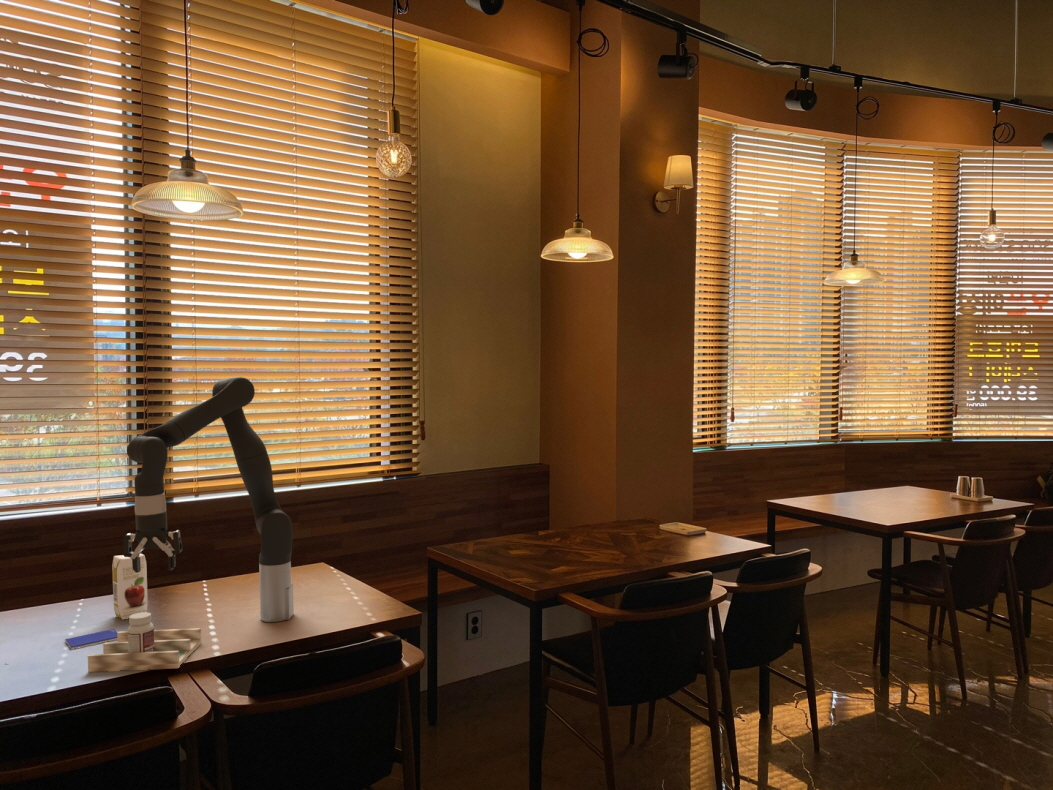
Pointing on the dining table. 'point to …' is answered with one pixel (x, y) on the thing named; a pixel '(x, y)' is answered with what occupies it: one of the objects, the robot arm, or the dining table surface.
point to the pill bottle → (140, 633)
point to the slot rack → (167, 655)
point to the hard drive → (91, 638)
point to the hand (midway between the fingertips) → (154, 570)
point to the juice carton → (129, 587)
